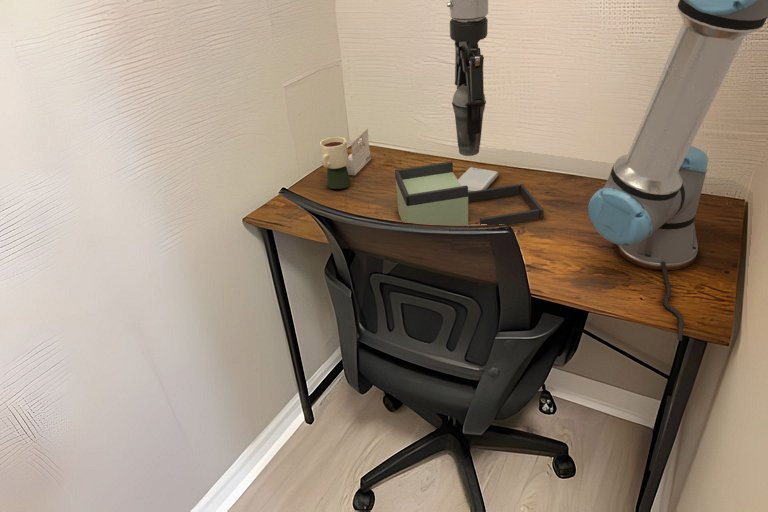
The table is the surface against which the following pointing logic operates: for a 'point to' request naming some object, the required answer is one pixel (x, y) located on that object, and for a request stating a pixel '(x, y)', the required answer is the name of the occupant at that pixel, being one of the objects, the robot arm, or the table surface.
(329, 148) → the character mug
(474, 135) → the beverage cup
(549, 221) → the table surface
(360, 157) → the ink cartridge box
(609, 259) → the table surface
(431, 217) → the tray
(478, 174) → the hard drive
